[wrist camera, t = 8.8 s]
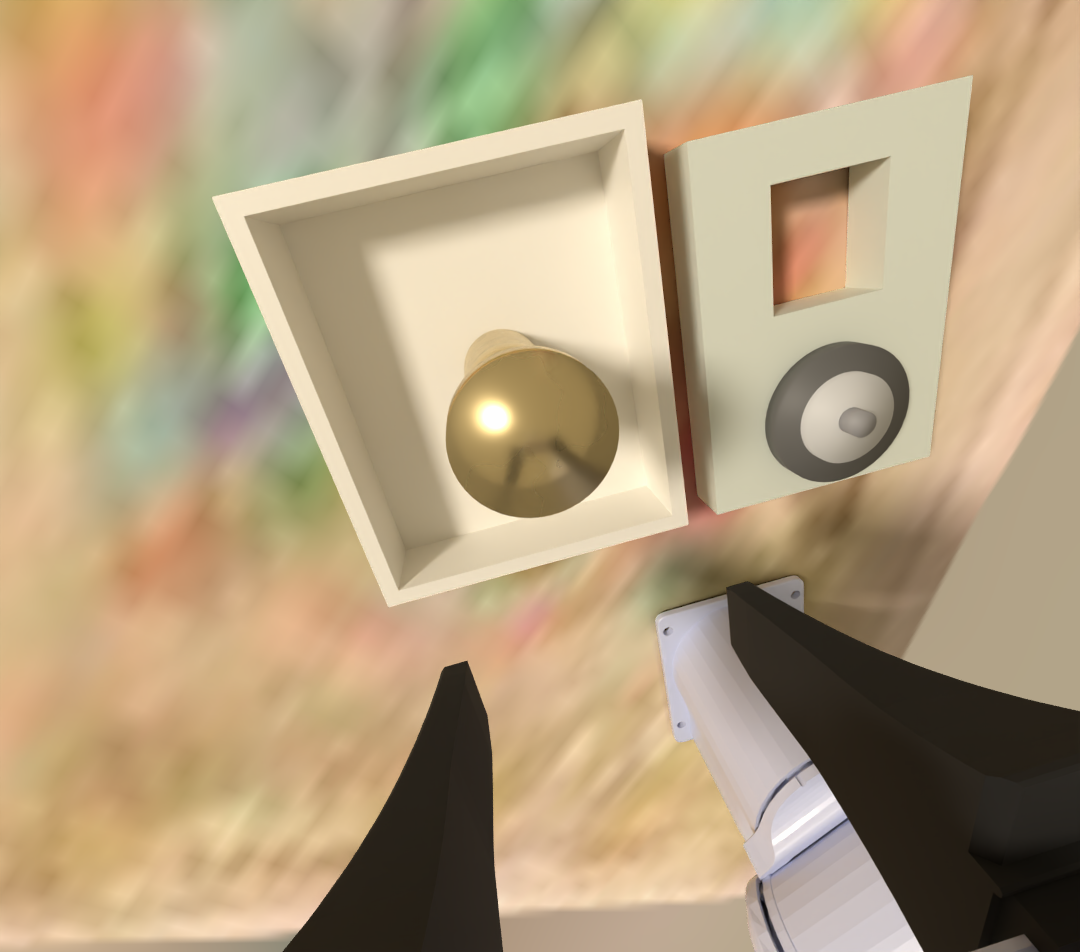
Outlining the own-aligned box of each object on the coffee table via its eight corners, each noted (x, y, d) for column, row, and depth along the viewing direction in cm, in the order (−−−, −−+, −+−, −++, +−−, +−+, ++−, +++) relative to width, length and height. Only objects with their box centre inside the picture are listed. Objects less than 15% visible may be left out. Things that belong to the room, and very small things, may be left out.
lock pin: (562, 405, 20) (629, 494, 12) (466, 429, 20) (472, 535, 12) (542, 304, 19) (605, 330, 11) (438, 329, 19) (422, 375, 10)
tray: (656, 489, 23) (688, 524, 20) (398, 559, 22) (388, 607, 19) (607, 130, 17) (641, 99, 14) (258, 210, 17) (211, 196, 14)
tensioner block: (893, 442, 24) (974, 474, 20) (697, 495, 24) (742, 538, 20) (921, 94, 18) (1040, 49, 15) (663, 154, 18) (718, 124, 14)
